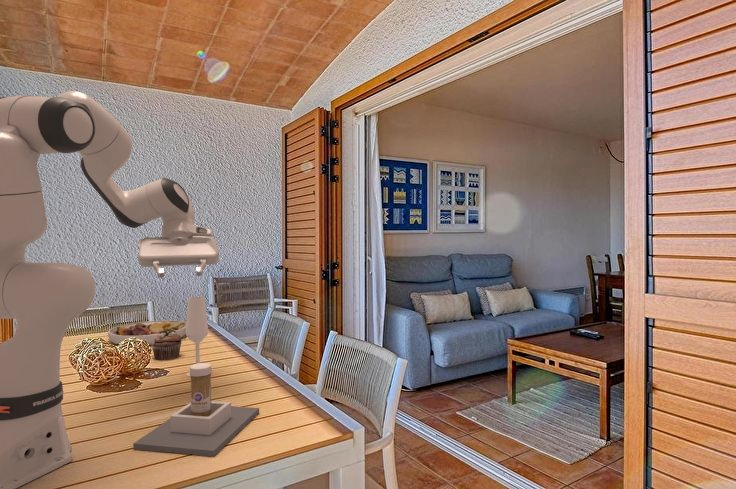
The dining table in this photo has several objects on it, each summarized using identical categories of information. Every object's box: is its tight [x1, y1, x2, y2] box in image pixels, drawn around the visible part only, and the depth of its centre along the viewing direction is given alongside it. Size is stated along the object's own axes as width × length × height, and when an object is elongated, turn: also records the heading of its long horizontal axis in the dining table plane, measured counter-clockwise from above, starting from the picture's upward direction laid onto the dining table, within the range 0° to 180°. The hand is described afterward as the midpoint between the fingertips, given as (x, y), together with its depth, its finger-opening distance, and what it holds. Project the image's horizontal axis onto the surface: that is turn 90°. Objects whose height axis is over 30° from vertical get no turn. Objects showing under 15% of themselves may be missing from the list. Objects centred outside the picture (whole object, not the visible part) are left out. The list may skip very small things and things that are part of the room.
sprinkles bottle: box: [189, 362, 212, 417], centre depth 103 cm, size 5×5×14 cm
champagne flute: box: [185, 296, 209, 378], centre depth 144 cm, size 7×7×24 cm
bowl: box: [107, 320, 187, 346], centre depth 190 cm, size 30×30×8 cm
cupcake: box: [151, 329, 182, 361], centre depth 162 cm, size 10×10×10 cm
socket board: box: [132, 400, 260, 458], centre depth 103 cm, size 22×18×5 cm
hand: (180, 275), depth 120 cm, fingers open, 8 cm apart
